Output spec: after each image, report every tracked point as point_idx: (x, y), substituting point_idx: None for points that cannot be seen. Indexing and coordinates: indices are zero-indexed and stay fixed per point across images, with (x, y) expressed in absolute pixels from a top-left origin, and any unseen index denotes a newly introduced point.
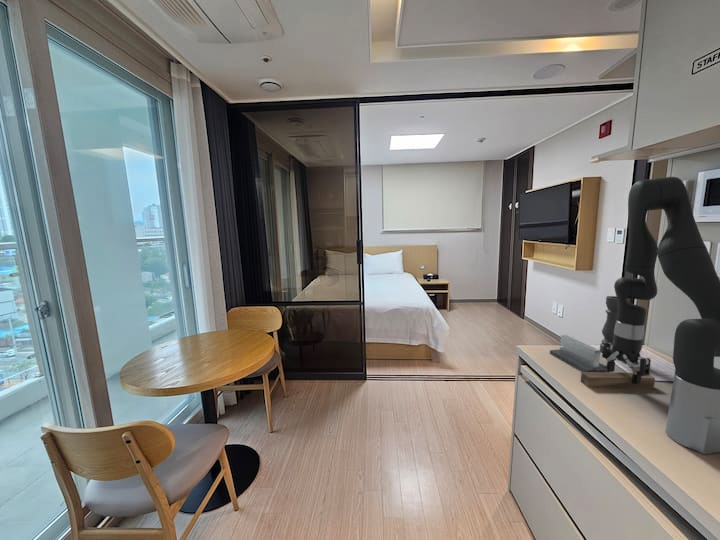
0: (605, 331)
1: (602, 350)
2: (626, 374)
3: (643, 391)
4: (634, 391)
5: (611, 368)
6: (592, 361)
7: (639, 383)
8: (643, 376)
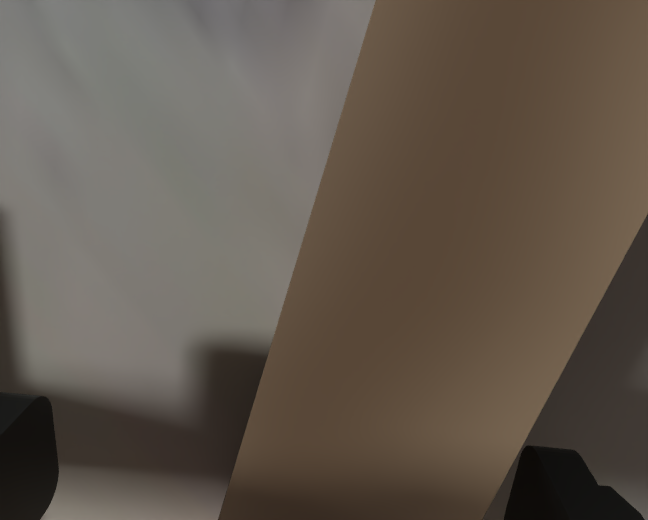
0: None
1: None
2: (320, 500)
3: (587, 332)
4: None
5: (6, 509)
6: None
7: (608, 493)
8: (551, 230)
